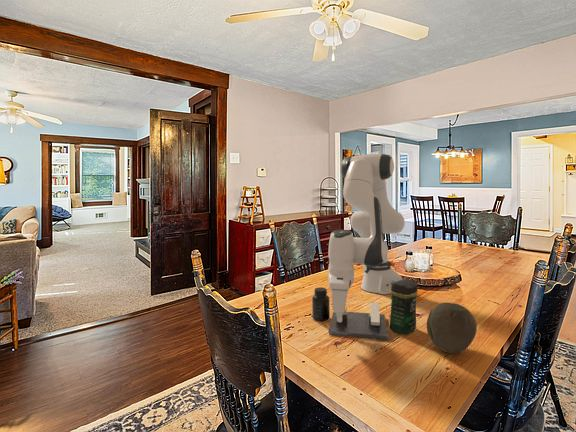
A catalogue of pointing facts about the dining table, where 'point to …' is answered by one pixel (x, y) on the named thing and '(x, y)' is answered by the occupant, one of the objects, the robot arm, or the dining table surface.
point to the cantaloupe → (451, 327)
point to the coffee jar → (403, 306)
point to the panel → (358, 326)
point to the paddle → (375, 314)
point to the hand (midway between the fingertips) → (340, 315)
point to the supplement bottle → (320, 305)
